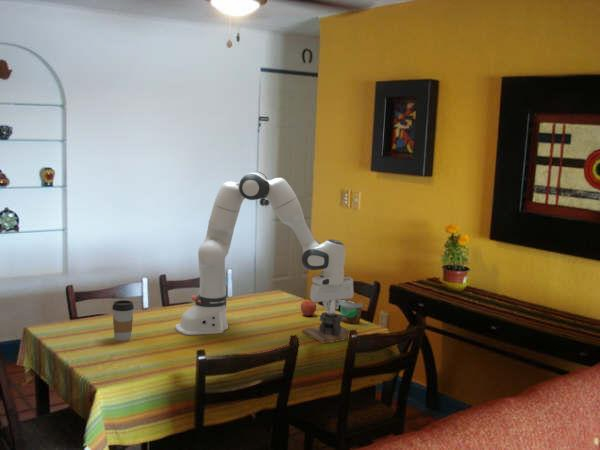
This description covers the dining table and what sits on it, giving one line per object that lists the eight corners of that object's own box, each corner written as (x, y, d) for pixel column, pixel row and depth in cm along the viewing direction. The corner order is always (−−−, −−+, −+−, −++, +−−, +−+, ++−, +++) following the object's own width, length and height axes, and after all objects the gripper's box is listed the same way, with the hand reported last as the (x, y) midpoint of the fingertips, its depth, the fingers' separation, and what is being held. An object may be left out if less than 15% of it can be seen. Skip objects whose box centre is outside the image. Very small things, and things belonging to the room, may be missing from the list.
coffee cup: (110, 336, 279) (110, 300, 276) (131, 335, 282) (132, 299, 280) (113, 343, 271) (113, 306, 269) (135, 341, 274) (135, 304, 272)
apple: (307, 312, 328) (308, 296, 327) (319, 316, 323) (320, 299, 322) (296, 315, 323) (297, 298, 322) (308, 318, 318) (309, 301, 317)
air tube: (329, 330, 292) (331, 293, 290) (324, 327, 295) (326, 291, 293) (335, 329, 294) (338, 292, 292) (331, 326, 297) (333, 290, 294)
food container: (332, 320, 317) (333, 299, 316) (340, 318, 322) (342, 297, 320) (353, 326, 309) (354, 305, 307) (361, 324, 313) (363, 302, 312)
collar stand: (322, 343, 284) (323, 323, 282) (302, 332, 297) (303, 313, 296) (358, 338, 293) (359, 318, 292) (336, 327, 306) (338, 308, 305)
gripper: (349, 274, 299) (347, 305, 301) (309, 278, 289) (307, 310, 291) (357, 278, 294) (355, 309, 296) (317, 281, 283) (315, 314, 286)
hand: (331, 310), depth 293 cm, fingers closed on air tube, 3 cm apart
